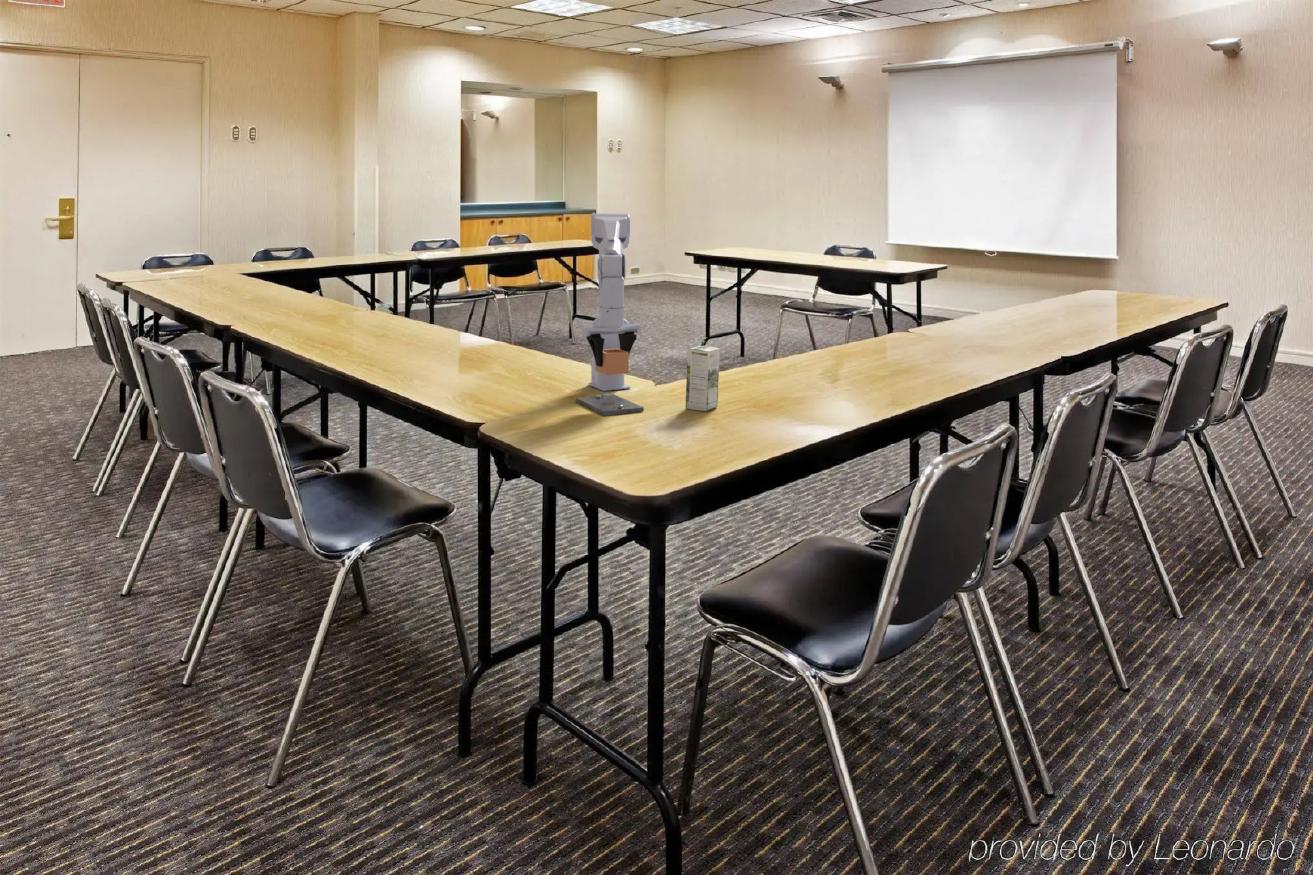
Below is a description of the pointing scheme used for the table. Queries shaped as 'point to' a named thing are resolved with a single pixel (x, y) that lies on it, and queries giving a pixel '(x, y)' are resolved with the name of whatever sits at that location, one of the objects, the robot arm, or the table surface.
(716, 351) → the syrup box
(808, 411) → the table surface
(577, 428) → the table surface
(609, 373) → the collar
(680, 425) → the table surface
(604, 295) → the robot arm
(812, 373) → the table surface
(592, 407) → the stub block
